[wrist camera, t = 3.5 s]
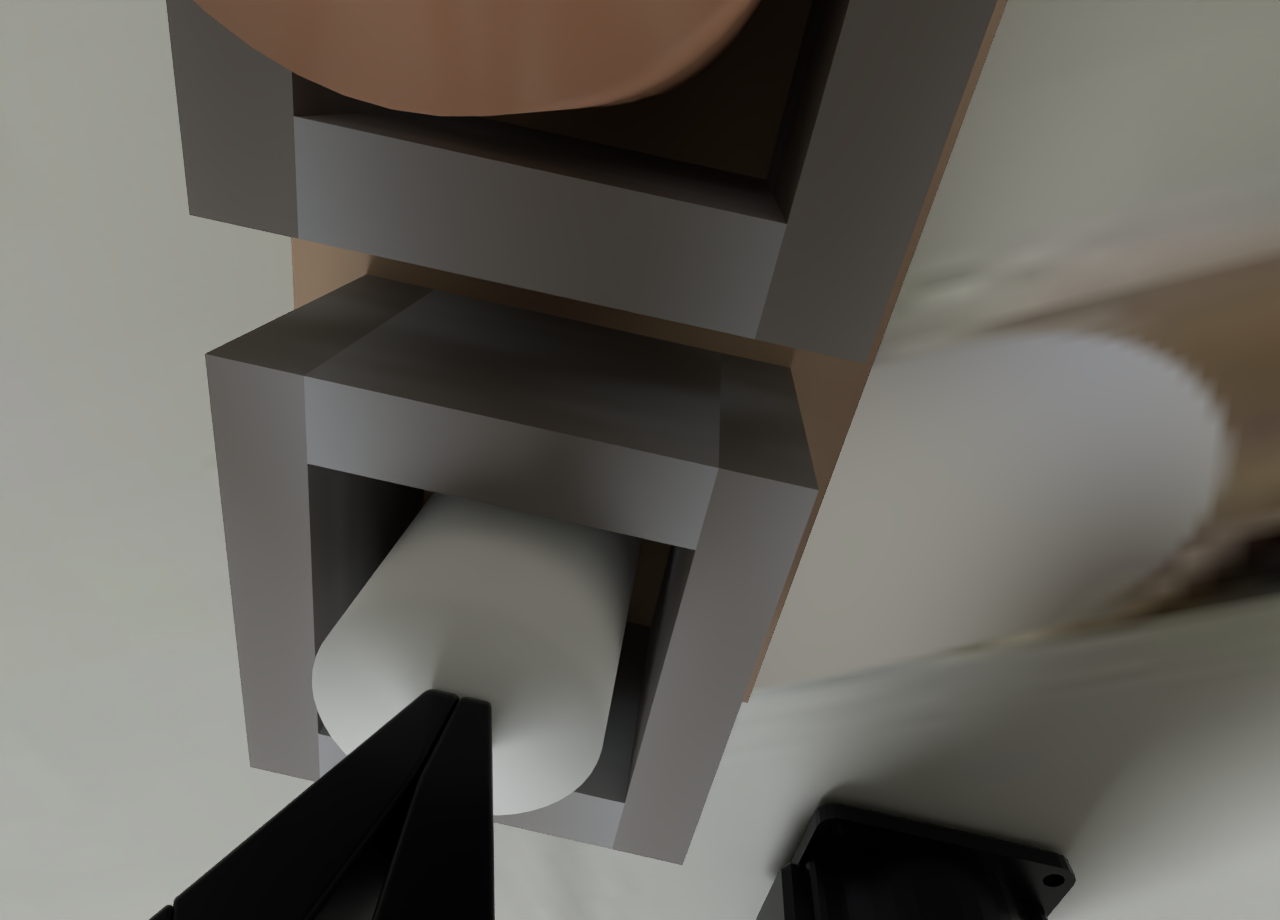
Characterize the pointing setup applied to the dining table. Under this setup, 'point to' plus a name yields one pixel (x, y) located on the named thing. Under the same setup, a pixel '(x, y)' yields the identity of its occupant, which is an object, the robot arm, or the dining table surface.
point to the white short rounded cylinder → (489, 639)
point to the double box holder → (569, 349)
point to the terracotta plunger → (490, 48)
